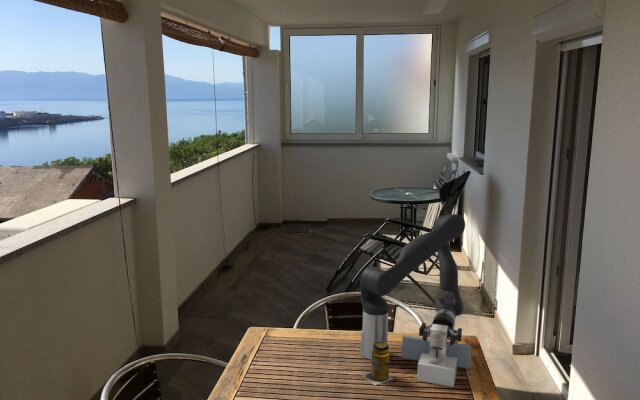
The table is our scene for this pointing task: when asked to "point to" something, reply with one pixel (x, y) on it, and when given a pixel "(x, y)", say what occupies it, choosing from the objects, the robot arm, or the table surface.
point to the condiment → (379, 364)
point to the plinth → (437, 371)
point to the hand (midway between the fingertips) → (438, 340)
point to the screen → (417, 346)
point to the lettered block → (438, 344)
